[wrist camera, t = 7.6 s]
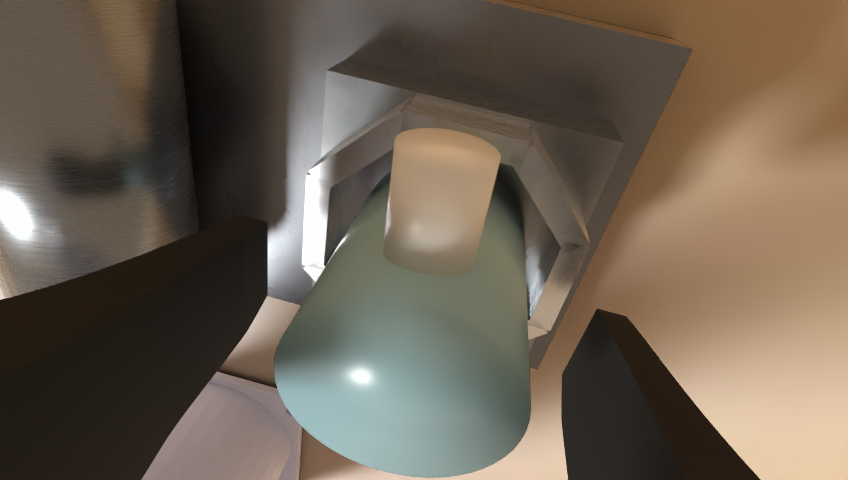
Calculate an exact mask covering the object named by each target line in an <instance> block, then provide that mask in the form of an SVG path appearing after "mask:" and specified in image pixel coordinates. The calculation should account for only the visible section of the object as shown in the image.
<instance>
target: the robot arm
mask: <svg viewBox="0 0 848 480" xmlns="http://www.w3.org/2000/svg"><path fill="white" fill-rule="evenodd" d="M267 295H268V222H264V221H261V220H257V219H253V218H249V217H245V216H242V215H241V216H238V217H235V218H232V219H229V220H226V221H224V222H221V223H219V224H216V225H214V226H211V227H209V228H206V229H204V230H201V231H199V232H196V233H194V234H192V235H189V236H187V237H184V238H182V239H179V240H177V241H174V242H172V243H169V244H167V245H164V246H162V247H159V248H157V249H155V250H152V251H150V252H147V253H144V254H142V255H139V256H136V257H133V258H131V259H128V260H125V261H122V262H120V263H117V264H114V265H111V266H109V267H106V268H103V269H100V270H98V271H95V272H92V273H89V274H86V275H83V276H80V277H77V278H74V279H71V280H68V281H65V282H62V283H58V284H55V285H52V286H48V287H45V288H41V289H38V290H34V291H31V292H27V293H24V294H20V295H17V296H13V297H10V298H6V299H2V300H0V480H299V470H300V455H301V440H302V426H301V425H300V424H299V423H298V422H297V421H296V419H295V418H294V417H293V416H292V415H291V413H290V412H289V410H288V409H287V407H286V406H285V404H284V402H283V400H282V398H281V396H280V394H279V392H278V389H277V388H274V387H270V386H267V385H263V384H260V383H256V382H253V381H249V380H245V379H242V378H238V377H235V376H231V375H228V374H224V373H221V372H217V371H218V369H219V368H220V367H221V365H222V364H223V363H224V362H225V360H226V359H227V358H228V356H229V355H230V354H231V352H232V351H233V350H234V348H235V347H236V346H237V344H238V343H239V342H240V340H241V339H242V337H243V336H244V335H245V333H246V332H247V330H248V329H249V327H250V325H251V323H252V322H253V320H254V318H255V317H256V315H257V313H258V311H259V309H260V308H261V306H262V304H263V302H264V300H265V299H266V297H267ZM562 429H563V438H564V447H565V456H566V465H567V473H568V480H760V479H759V477H758V476H757V475H756V474H755V473H754V472H753V471H752V470H751V469H750V468H749V467H748V466H747V464H746V463H745V462H744V461H743V460H742V459H741V458H740V457H739V455H738V454H737V453H736V452H735V451H734V450H733V449H732V447H731V446H730V445H729V444H728V443H727V442H726V440H725V439H724V438H723V437H722V436H721V435H720V434H719V432H718V431H717V430H716V429H715V428H714V427H713V425H712V424H711V423H710V422H709V421H708V419H707V418H706V417H705V416H704V415H703V413H702V412H701V411H700V410H699V408H698V407H697V406H696V405H695V404H694V402H693V401H692V400H691V399H690V397H689V396H688V395H687V394H686V392H685V391H684V390H683V388H682V387H681V386H680V385H679V383H678V382H677V381H676V379H675V378H674V377H673V376H672V374H671V373H670V372H669V370H668V369H667V368H666V367H665V365H664V364H663V363H662V361H661V360H660V359H659V357H658V356H657V355H656V353H655V352H654V351H653V350H652V348H651V347H650V346H649V344H648V343H647V342H646V340H645V339H644V338H643V337H642V335H641V334H640V333H639V331H638V330H637V329H636V328H635V326H634V325H633V324H632V323H631V322H630V320H629V319H628V318H627V317H626V316H622V315H618V314H615V313H611V312H607V311H603V310H599V309H597V310H596V312H595V314H594V316H593V317H592V319H591V321H590V323H589V325H588V327H587V329H586V331H585V332H584V334H583V336H582V338H581V340H580V342H579V344H578V346H577V347H576V349H575V351H574V353H573V355H572V357H571V359H570V361H569V362H568V364H567V366H566V368H565V370H564V372H563V374H562Z"/></svg>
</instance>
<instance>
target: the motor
mask: <svg viewBox="0 0 848 480" xmlns="http://www.w3.org/2000/svg"><path fill="white" fill-rule="evenodd" d="M691 51H692V48H690V47H688V46H686V45H684V44H682V43H681V42H679V41H677V40H675V39H671V38H667V37H663V36H658V35H654V34H650V33H645V32H641V31H637V30H633V29H628V28H624V27H620V26H615V25H611V24H607V23H602V22H598V21H594V20H589V19H585V18H581V17H576V16H572V15H568V14H563V13H559V12H555V11H550V10H546V9H542V8H537V7H533V6H529V5H525V4H520V3H516V2H512V1H507V0H0V287H1V289H2V292H3V294H4V296H5V299H6V298H10V297H13V296H17V295H20V294H24V293H27V292H31V291H34V290H38V289H41V288H45V287H48V286H52V285H55V284H58V283H62V282H65V281H68V280H71V279H74V278H77V277H80V276H83V275H86V274H89V273H92V272H95V271H98V270H100V269H103V268H106V267H109V266H111V265H114V264H117V263H120V262H122V261H125V260H128V259H131V258H133V257H136V256H139V255H142V254H144V253H147V252H150V251H152V250H155V249H157V248H159V247H162V246H164V245H167V244H169V243H172V242H174V241H177V240H179V239H182V238H184V237H187V236H189V235H192V234H194V233H196V232H199V231H201V230H204V229H206V228H209V227H211V226H214V225H216V224H219V223H221V222H224V221H226V220H229V219H232V218H235V217H238V216H241V215H242V216H245V217H249V218H253V219H257V220H261V221H264V222H268V295H267V296H270V297H273V298H277V299H281V300H284V301H288V302H292V303H295V304H299V305H302V304H303V302H304V301H305V299H306V297H307V296H308V294H309V292H310V291H311V289H312V288H313V286H314V284H315V283H316V281H317V279H318V278H319V276H320V275H321V273H322V271H323V270H324V268H325V266H326V265H327V263H328V262H329V260H330V258H331V257H332V255H333V253H334V252H335V250H336V248H337V247H338V245H339V244H340V242H341V240H342V239H343V237H344V235H345V234H346V232H347V231H348V229H349V227H350V226H351V224H352V222H353V221H354V219H355V218H356V216H357V214H358V213H359V211H360V209H361V208H362V206H363V205H364V203H365V201H366V200H367V198H368V196H369V195H370V193H371V192H372V190H373V189H374V187H375V186H376V184H377V183H378V182H379V181H380V180H381V179H382V178H383V177H384V176H386V175H387V174H388V173H389V172H391V169H392V160H393V151H394V142H395V138H396V136H397V135H398V134H400V133H402V132H404V131H407V130H411V129H417V128H441V129H448V130H454V131H459V132H463V133H467V134H470V135H473V136H475V137H478V138H480V139H483V140H484V141H486V142H488V143H490V144H491V145H493V146H494V147H495V148H496V149H497V150H498V151H499V153H500V155H501V159H500V163H499V167H498V171H497V175H496V179H498V180H499V181H500V182H501V183H502V184H503V185H504V186H505V187H506V188H507V190H508V191H509V192H510V193H511V195H512V196H513V198H514V199H515V201H516V203H517V204H518V207H519V209H520V212H521V214H522V218H523V222H524V232H525V258H526V286H527V313H528V341H529V367H530V368H534V369H538V367H539V365H540V363H541V361H542V358H543V356H544V354H545V352H546V350H547V348H548V346H549V344H550V342H551V340H552V338H553V336H554V334H555V332H556V330H557V328H558V326H559V323H560V321H561V319H562V317H563V315H564V313H565V311H566V309H567V307H568V305H569V303H570V301H571V299H572V297H573V295H574V293H575V290H576V288H577V286H578V284H579V282H580V280H581V278H582V276H583V274H584V272H585V270H586V268H587V266H588V264H589V262H590V260H591V257H592V255H593V253H594V251H595V249H596V247H597V245H598V243H599V241H600V239H601V237H602V235H603V233H604V231H605V229H606V227H607V225H608V222H609V220H610V218H611V216H612V214H613V212H614V210H615V208H616V206H617V204H618V202H619V200H620V198H621V196H622V194H623V192H624V189H625V187H626V185H627V183H628V181H629V179H630V177H631V175H632V173H633V171H634V169H635V167H636V165H637V163H638V161H639V159H640V156H641V154H642V152H643V150H644V148H645V146H646V144H647V142H648V140H649V138H650V136H651V134H652V132H653V130H654V128H655V126H656V124H657V121H658V119H659V117H660V115H661V113H662V111H663V109H664V107H665V105H666V103H667V101H668V99H669V97H670V95H671V93H672V91H673V88H674V86H675V84H676V82H677V80H678V78H679V76H680V74H681V72H682V70H683V68H684V66H685V64H686V62H687V60H688V58H689V56H690V53H691Z"/></svg>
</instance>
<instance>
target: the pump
mask: <svg viewBox="0 0 848 480" xmlns="http://www.w3.org/2000/svg"><path fill="white" fill-rule="evenodd" d="M500 159H501V155H500V153H499V151H498V150H497V149H496V148H495V147H494V146H493V145H491V144H490V143H488V142H486V141H484V140H483V139H480V138H478V137H475V136H473V135H470V134H467V133H463V132H459V131H454V130H448V129H441V128H417V129H411V130H407V131H404V132H402V133H400V134H398V135H397V136H396V138H395V142H394V151H393V160H392V169H391V172H389V173H388V174H387V175H386V176H384V177H383V178H382V179H381V180H380V181H379V182H378V183H377V184H376V186H375V187H374V189H373V190H372V192H371V193H370V195H369V196H368V198H367V200H366V201H365V203H364V205H363V206H362V208H361V209H360V211H359V213H358V214H357V216H356V218H355V219H354V221H353V222H352V224H351V226H350V227H349V229H348V231H347V232H346V234H345V235H344V237H343V239H342V240H341V242H340V244H339V245H338V247H337V248H336V250H335V252H334V253H333V255H332V257H331V258H330V260H329V262H328V263H327V265H326V266H325V268H324V270H323V271H322V273H321V275H320V276H319V278H318V279H317V281H316V283H315V284H314V286H313V288H312V289H311V291H310V292H309V294H308V296H307V297H306V299H305V301H304V302H303V304H302V305H301V307H300V309H299V310H298V312H297V314H296V315H295V317H294V318H293V320H292V322H291V323H290V325H289V327H288V328H287V330H286V332H285V333H284V335H283V336H282V338H281V340H280V342H279V344H278V347H277V349H276V353H275V358H274V377H275V383H276V386H277V389H278V392H279V394H280V396H281V398H282V400H283V402H284V404H285V406H286V407H287V409H288V410H289V412H290V413H291V415H292V416H293V417H294V418H295V419H296V421H297V422H298V423H299V424H300V425H301V426H302V427H303V428H304V429H305V430H306V431H307V432H308V433H309V434H311V435H312V436H313V437H314V438H316V439H317V440H318V441H319V442H321V443H322V444H324V445H325V446H327V447H328V448H330V449H331V450H333V451H335V452H337V453H338V454H340V455H342V456H344V457H346V458H348V459H350V460H353V461H355V462H357V463H360V464H362V465H365V466H368V467H370V468H374V469H377V470H381V471H384V472H388V473H393V474H398V475H404V476H412V477H426V478H434V477H450V476H458V475H462V474H467V473H471V472H474V471H478V470H481V469H483V468H486V467H488V466H490V465H492V464H494V463H496V462H497V461H499V460H501V459H502V458H504V457H505V456H506V455H507V454H509V453H510V452H511V451H512V450H513V449H514V448H515V447H516V446H517V445H518V443H519V442H520V441H521V439H522V437H523V436H524V434H525V432H526V430H527V427H528V424H529V420H530V412H531V397H530V369H529V341H528V313H527V286H526V258H525V232H524V222H523V218H522V214H521V212H520V209H519V207H518V204H517V203H516V201H515V199H514V198H513V196H512V195H511V193H510V192H509V191H508V190H507V188H506V187H505V186H504V185H503V184H502V183H501V182H500V181H499V180H498V179H496V175H497V171H498V167H499V163H500Z"/></svg>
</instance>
